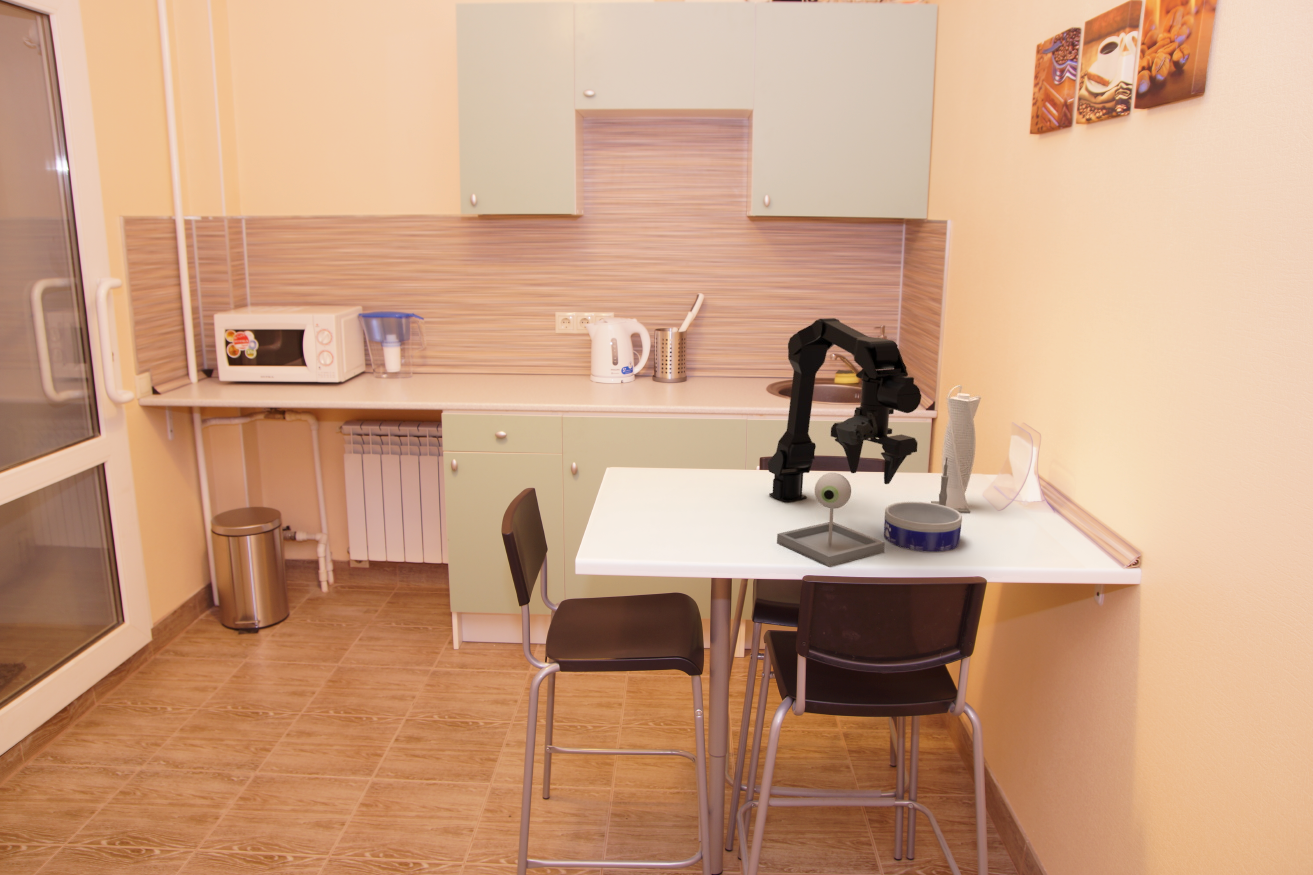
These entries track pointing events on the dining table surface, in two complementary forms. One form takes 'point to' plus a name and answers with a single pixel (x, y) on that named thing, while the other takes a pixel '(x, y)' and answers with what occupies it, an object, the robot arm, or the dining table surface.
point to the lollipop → (832, 494)
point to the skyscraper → (958, 451)
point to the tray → (842, 547)
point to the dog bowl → (922, 526)
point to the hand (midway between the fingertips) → (869, 478)
